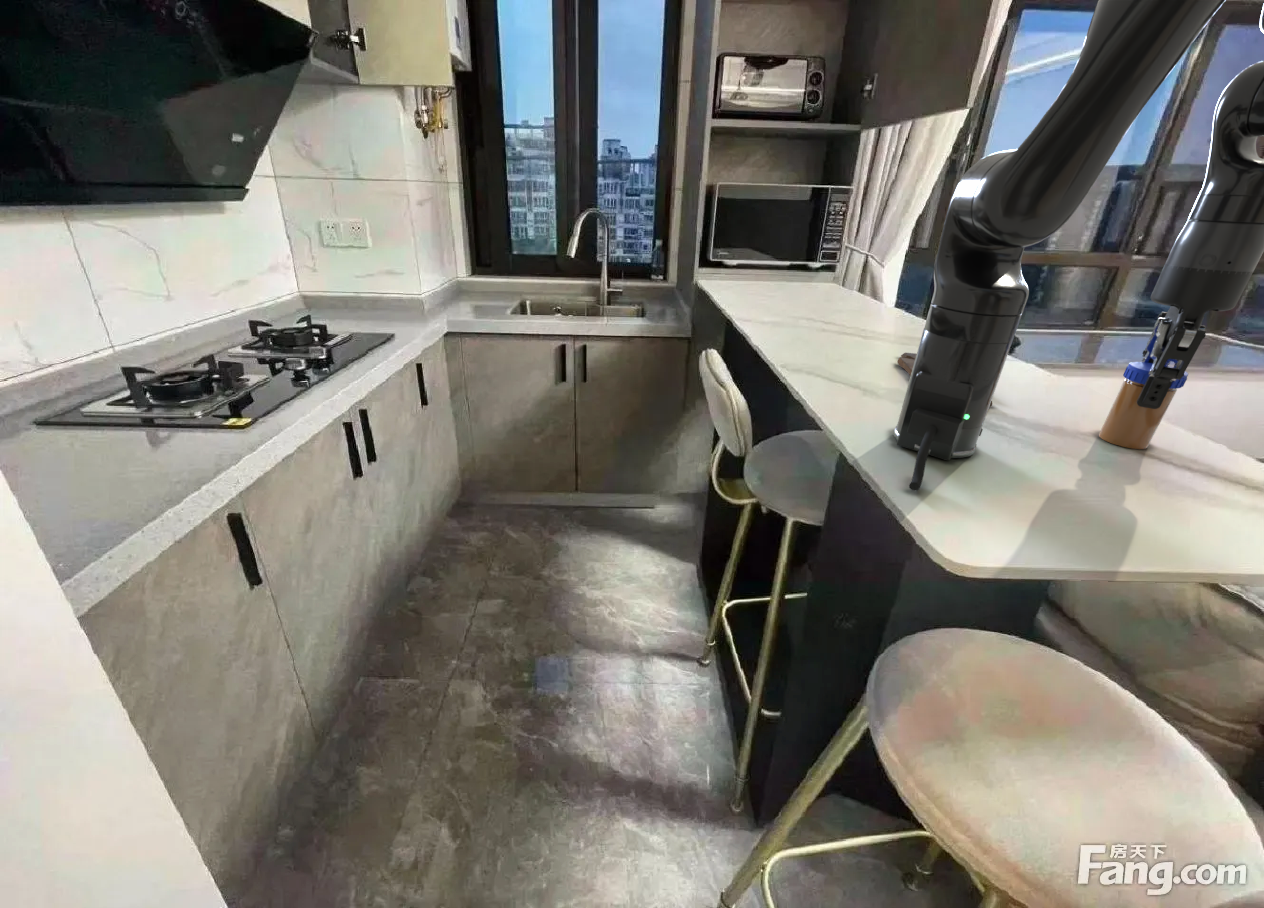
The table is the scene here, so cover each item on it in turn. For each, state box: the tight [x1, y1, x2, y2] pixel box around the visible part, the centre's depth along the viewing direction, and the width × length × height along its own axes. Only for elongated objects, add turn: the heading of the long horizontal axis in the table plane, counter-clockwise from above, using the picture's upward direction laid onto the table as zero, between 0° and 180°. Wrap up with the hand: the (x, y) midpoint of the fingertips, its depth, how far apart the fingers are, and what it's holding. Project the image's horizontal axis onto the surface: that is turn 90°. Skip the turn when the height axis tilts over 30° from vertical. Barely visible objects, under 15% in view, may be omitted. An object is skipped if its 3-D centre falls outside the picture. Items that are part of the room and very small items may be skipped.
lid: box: [1123, 361, 1189, 390], centre depth 69 cm, size 6×6×2 cm
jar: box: [1098, 378, 1178, 450], centre depth 71 cm, size 5×5×9 cm
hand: (1144, 399), depth 70 cm, fingers closed on lid, 5 cm apart
